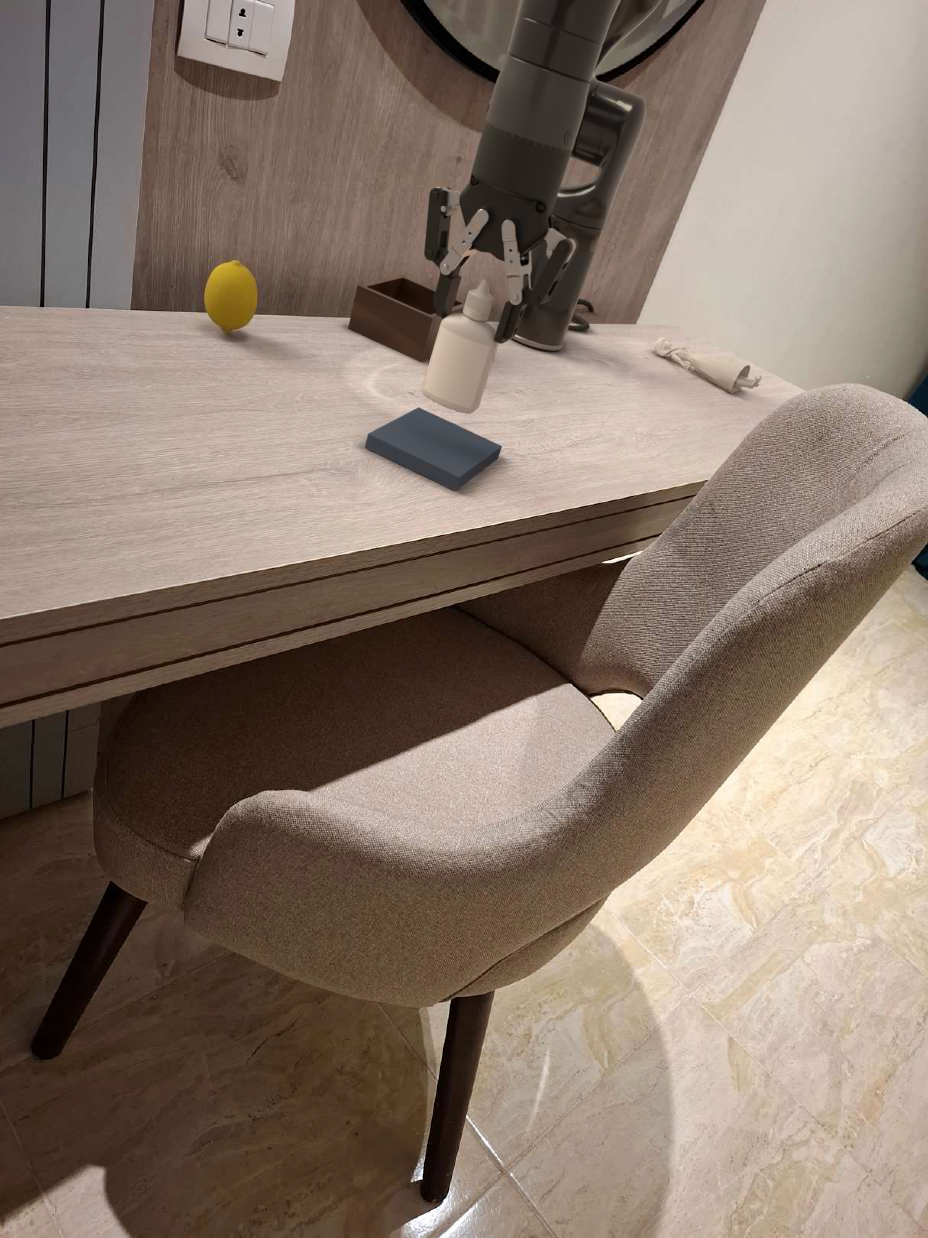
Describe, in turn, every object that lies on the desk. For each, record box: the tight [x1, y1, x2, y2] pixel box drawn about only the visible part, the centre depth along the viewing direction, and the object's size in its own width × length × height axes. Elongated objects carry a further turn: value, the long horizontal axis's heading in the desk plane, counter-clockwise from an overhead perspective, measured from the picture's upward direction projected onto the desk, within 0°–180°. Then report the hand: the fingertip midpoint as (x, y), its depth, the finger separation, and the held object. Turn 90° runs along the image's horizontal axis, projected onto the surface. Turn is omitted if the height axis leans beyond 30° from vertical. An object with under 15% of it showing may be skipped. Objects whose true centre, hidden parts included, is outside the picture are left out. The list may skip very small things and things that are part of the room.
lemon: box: [203, 259, 259, 334], centre depth 98 cm, size 6×6×8 cm
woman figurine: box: [653, 336, 762, 394], centre depth 143 cm, size 12×4×18 cm
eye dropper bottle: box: [421, 277, 500, 415], centre depth 84 cm, size 4×6×12 cm
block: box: [364, 406, 503, 492], centre depth 90 cm, size 11×10×2 cm
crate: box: [347, 274, 466, 362], centre depth 115 cm, size 12×11×6 cm
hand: (471, 327), depth 83 cm, fingers closed on eye dropper bottle, 5 cm apart
